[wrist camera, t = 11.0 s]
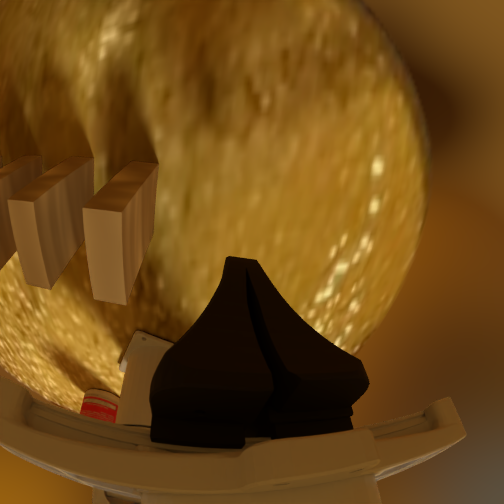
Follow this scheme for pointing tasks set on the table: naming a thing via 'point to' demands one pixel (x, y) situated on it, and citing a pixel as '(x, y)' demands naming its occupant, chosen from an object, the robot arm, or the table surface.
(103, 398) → the pill bottle
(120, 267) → the domino
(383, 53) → the table surface
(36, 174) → the domino
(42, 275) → the domino
